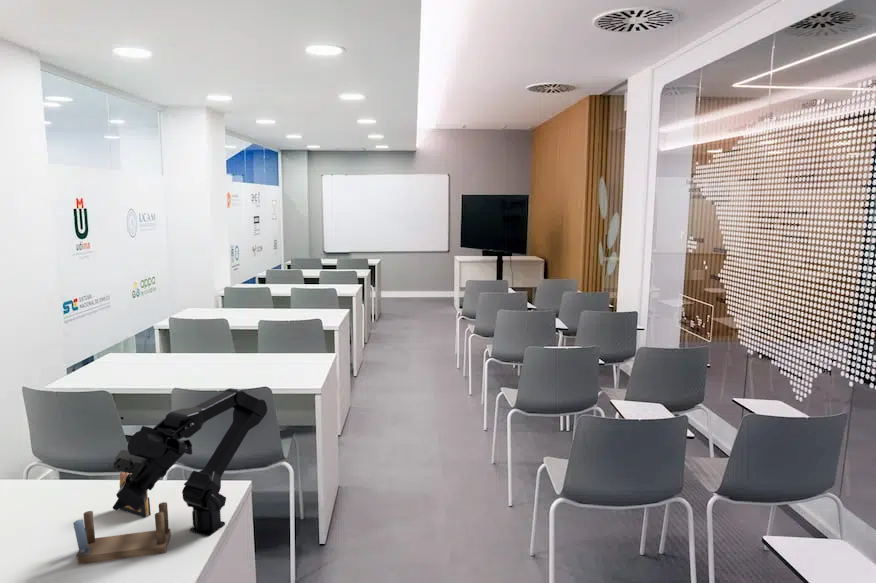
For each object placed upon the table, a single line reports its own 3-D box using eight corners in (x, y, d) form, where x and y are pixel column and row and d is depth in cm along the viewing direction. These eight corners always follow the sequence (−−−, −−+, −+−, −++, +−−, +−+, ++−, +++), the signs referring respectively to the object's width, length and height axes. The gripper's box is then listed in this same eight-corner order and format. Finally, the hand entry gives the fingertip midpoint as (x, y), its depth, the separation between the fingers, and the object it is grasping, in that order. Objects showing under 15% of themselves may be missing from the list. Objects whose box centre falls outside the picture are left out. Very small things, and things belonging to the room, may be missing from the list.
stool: (170, 535, 154) (168, 500, 153) (165, 552, 147) (163, 516, 145) (86, 546, 149) (83, 510, 148) (76, 565, 142) (73, 527, 140)
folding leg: (90, 547, 144) (84, 518, 143) (87, 552, 142) (81, 523, 141) (81, 549, 144) (75, 520, 143) (78, 554, 142) (71, 525, 140)
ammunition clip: (151, 515, 165) (148, 474, 163) (145, 518, 163) (142, 476, 162) (125, 506, 170) (122, 466, 168) (119, 509, 168) (116, 469, 166)
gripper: (142, 426, 152) (98, 472, 151) (123, 455, 134) (72, 507, 133) (177, 453, 155) (134, 498, 154) (163, 484, 137) (114, 536, 136)
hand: (114, 508), depth 144 cm, fingers closed
